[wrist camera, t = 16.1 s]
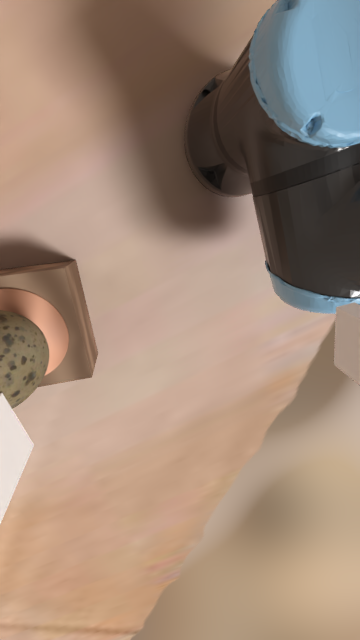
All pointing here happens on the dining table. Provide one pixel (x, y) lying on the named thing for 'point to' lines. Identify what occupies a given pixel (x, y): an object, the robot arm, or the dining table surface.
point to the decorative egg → (21, 357)
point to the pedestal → (54, 316)
